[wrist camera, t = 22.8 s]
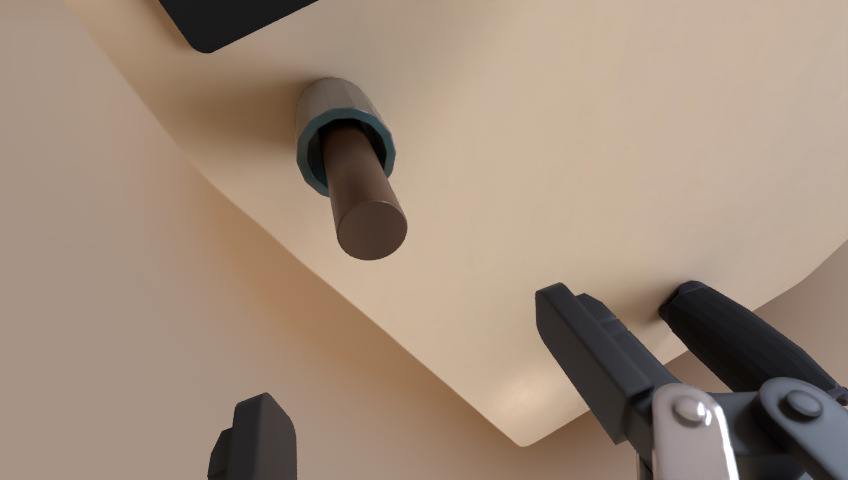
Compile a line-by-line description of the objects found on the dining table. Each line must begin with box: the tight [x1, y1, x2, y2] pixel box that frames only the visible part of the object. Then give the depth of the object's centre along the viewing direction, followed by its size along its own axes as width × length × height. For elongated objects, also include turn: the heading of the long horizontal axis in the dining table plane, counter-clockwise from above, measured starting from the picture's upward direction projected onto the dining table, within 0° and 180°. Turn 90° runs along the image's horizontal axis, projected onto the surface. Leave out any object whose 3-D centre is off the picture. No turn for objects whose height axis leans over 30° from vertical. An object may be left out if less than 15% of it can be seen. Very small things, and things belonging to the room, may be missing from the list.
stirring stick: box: [318, 118, 407, 260], centre depth 22 cm, size 3×3×16 cm
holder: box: [295, 78, 396, 197], centre depth 26 cm, size 6×6×8 cm
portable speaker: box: [659, 281, 848, 406], centre depth 50 cm, size 9×9×20 cm
